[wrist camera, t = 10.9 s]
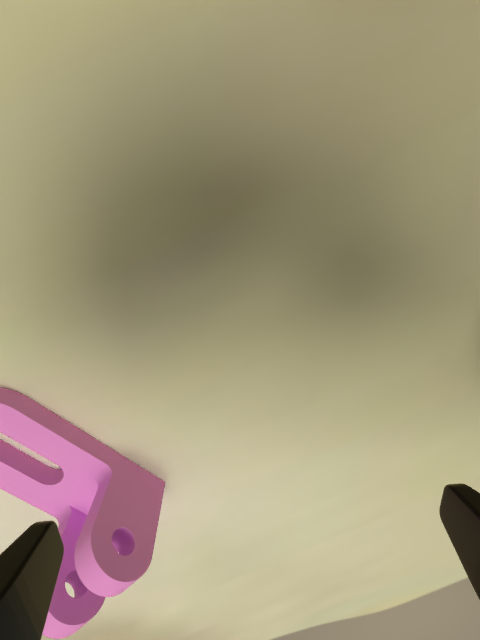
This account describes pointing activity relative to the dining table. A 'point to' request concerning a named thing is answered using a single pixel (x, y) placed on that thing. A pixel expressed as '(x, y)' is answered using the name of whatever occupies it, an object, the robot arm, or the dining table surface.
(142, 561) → the bracket
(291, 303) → the dining table surface
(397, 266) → the dining table surface
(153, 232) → the dining table surface
